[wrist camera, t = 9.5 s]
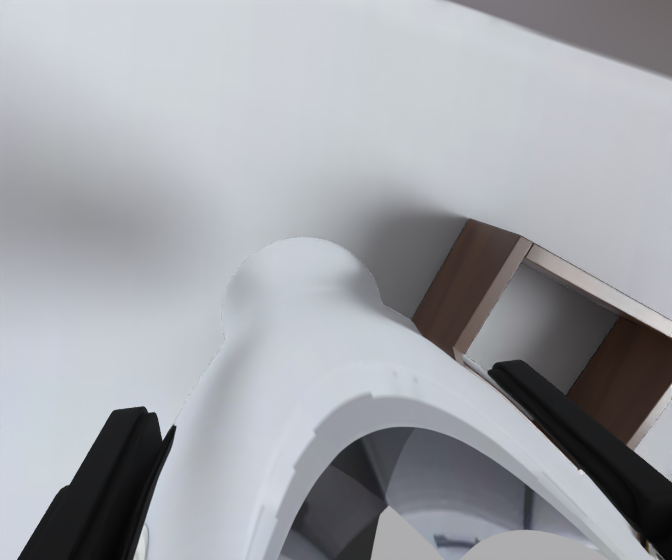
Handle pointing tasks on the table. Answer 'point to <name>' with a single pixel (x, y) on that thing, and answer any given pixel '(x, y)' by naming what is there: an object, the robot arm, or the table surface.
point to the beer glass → (359, 440)
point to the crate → (635, 318)
